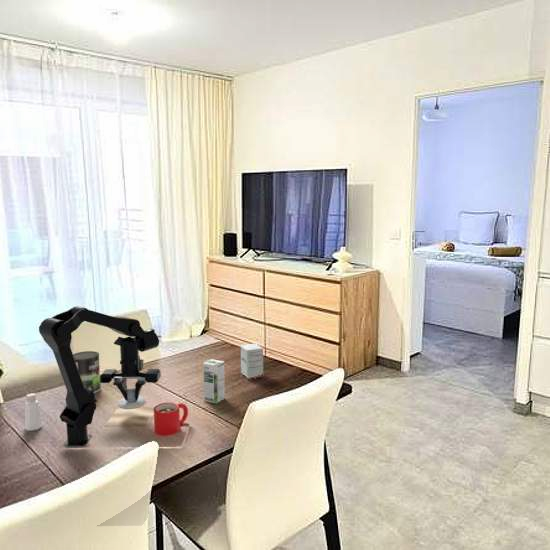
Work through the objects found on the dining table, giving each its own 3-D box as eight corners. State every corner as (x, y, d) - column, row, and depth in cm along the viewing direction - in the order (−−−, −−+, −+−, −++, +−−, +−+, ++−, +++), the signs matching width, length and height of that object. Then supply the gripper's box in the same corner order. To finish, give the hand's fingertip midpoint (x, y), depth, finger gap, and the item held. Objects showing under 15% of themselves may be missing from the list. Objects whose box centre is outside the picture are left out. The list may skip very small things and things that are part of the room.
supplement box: (240, 374, 201) (240, 345, 199) (256, 371, 204) (256, 342, 202) (247, 380, 195) (246, 350, 193) (263, 377, 198) (263, 347, 196)
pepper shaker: (38, 421, 159) (35, 389, 157) (46, 426, 155) (43, 394, 153) (21, 427, 154) (18, 395, 153) (28, 432, 151) (26, 399, 149)
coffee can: (106, 386, 189) (104, 351, 186) (91, 396, 179) (89, 360, 176) (82, 384, 191) (80, 350, 188) (66, 394, 181) (64, 358, 178)
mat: (148, 427, 154) (148, 425, 154) (104, 427, 154) (104, 426, 154) (158, 408, 168) (157, 407, 168) (117, 408, 168) (117, 407, 168)
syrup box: (203, 401, 174) (202, 363, 172) (212, 395, 179) (211, 358, 177) (216, 404, 172) (215, 365, 169) (225, 398, 177) (224, 360, 175)
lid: (142, 409, 156) (141, 395, 156) (114, 409, 156) (113, 395, 155) (148, 397, 165) (148, 384, 164) (122, 398, 165) (121, 384, 164)
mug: (195, 425, 156) (194, 402, 154) (164, 439, 147) (163, 415, 145) (179, 418, 161) (178, 396, 159) (149, 431, 152) (148, 408, 150)
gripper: (163, 347, 166) (165, 390, 169) (109, 348, 166) (111, 391, 168) (156, 358, 155) (157, 403, 158) (97, 358, 155) (100, 404, 157)
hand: (132, 400), depth 160 cm, fingers closed on lid, 3 cm apart
